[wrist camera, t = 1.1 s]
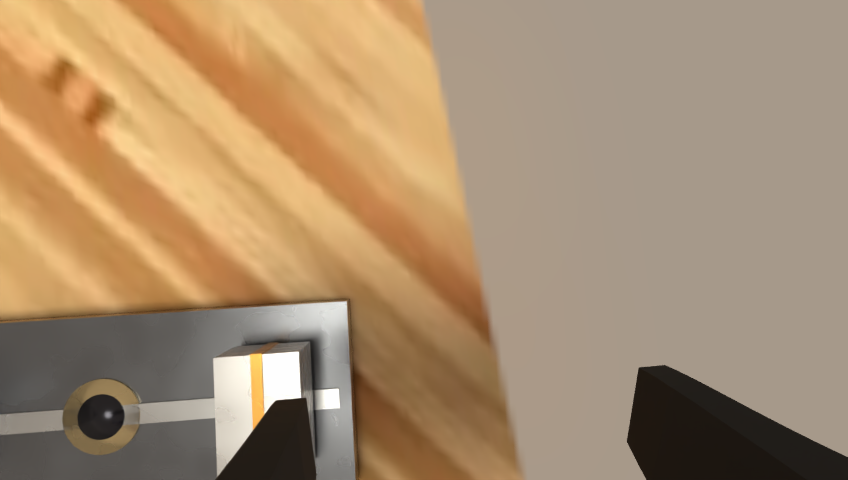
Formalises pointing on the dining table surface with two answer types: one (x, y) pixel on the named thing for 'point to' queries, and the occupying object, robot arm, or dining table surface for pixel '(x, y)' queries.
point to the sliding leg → (257, 389)
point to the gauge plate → (157, 390)
